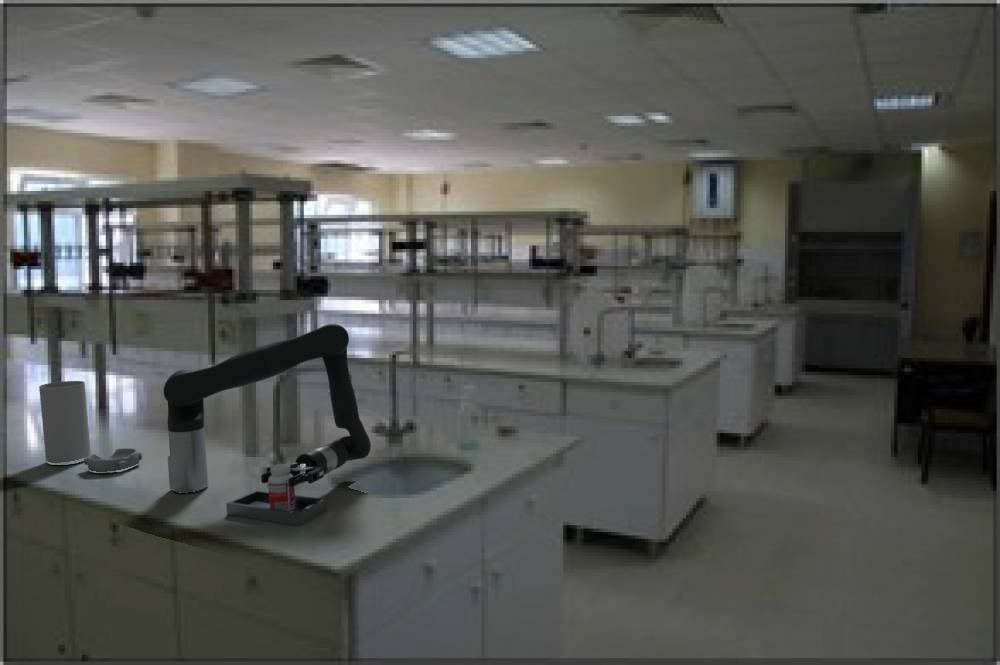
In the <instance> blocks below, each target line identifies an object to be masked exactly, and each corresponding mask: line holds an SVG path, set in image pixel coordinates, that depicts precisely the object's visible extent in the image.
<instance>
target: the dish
mask: <svg viewBox="0 0 1000 665" xmlns="http://www.w3.org/2000/svg"><path fill="white" fill-rule="evenodd" d="M141 460H143V453H142V452H140V451H138V449H136V448H131V447H124V448H123V447H122V448H117V449H115V451H114V453H113V454H111V455H110V456H109V457H104V458H102V457H100V456H98V455H97V454H95V453H92V454H91V455H89V456H88V457H86V458H84V462H83V463H84V465H85V466H87V468H88V471H89V470H91V471H96V472H107V471H116V470H121V469H125V468H128V467H131V466H134V465H136V464H138V463H139V464H140V461H141Z"/></svg>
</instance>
